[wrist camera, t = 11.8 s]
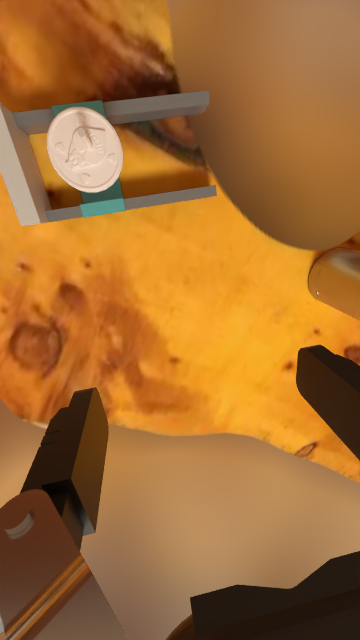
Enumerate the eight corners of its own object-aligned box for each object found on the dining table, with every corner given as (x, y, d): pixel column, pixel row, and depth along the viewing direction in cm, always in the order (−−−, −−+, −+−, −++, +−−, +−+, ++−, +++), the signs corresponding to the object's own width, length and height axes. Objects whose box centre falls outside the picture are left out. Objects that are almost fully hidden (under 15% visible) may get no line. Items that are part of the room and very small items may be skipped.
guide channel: (201, 100, 30) (216, 75, 25) (209, 197, 35) (224, 195, 29) (4, 123, 28) (-26, 102, 23) (39, 224, 33) (21, 227, 27)
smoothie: (135, 173, 32) (139, 148, 19) (98, 208, 33) (78, 206, 20) (97, 123, 29) (72, 56, 17) (58, 162, 30) (5, 127, 18)
